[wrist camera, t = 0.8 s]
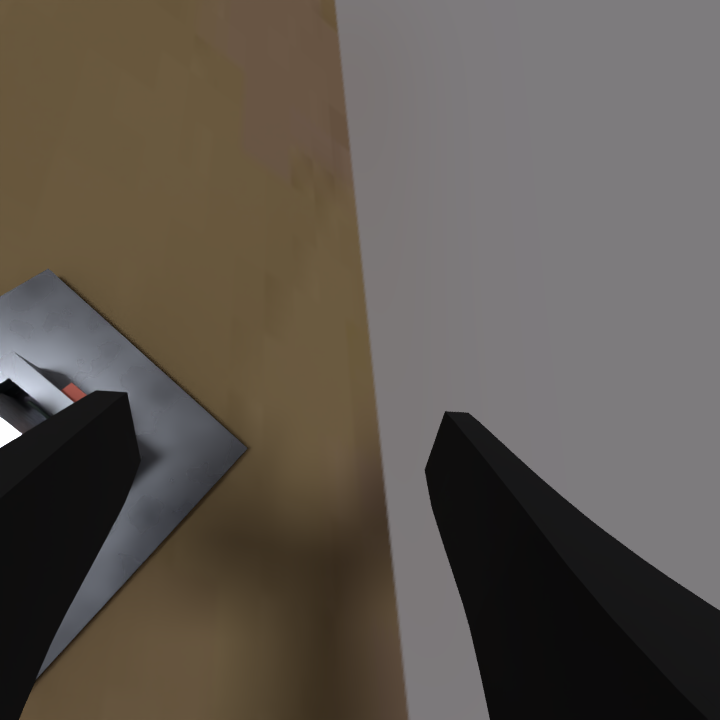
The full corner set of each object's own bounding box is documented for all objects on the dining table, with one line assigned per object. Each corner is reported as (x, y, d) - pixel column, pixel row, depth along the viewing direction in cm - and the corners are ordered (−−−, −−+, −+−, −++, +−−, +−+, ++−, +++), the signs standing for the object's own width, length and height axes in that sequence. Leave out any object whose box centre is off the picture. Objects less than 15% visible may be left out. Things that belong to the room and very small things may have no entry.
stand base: (11, 701, 16) (-45, 790, 12) (-310, 492, 14) (-526, 511, 9) (244, 448, 23) (261, 447, 18) (53, 276, 20) (22, 229, 16)
